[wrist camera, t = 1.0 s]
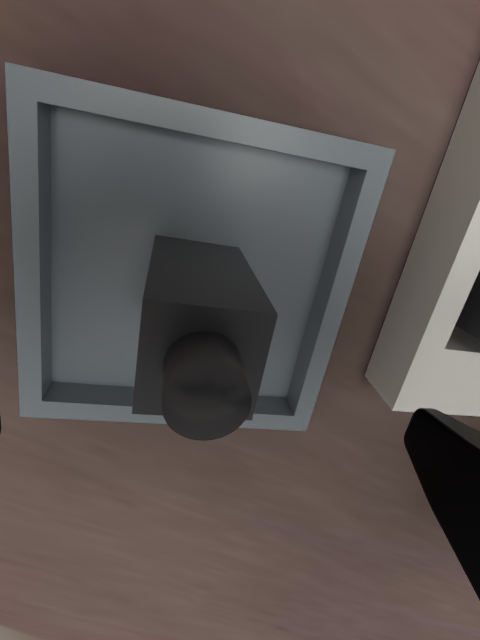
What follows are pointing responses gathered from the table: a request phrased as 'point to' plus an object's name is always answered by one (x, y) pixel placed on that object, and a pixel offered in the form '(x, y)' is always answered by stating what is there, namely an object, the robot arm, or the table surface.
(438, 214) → the power strip
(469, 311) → the twin plug
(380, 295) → the table surface
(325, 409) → the table surface
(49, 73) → the tray
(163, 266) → the plug
